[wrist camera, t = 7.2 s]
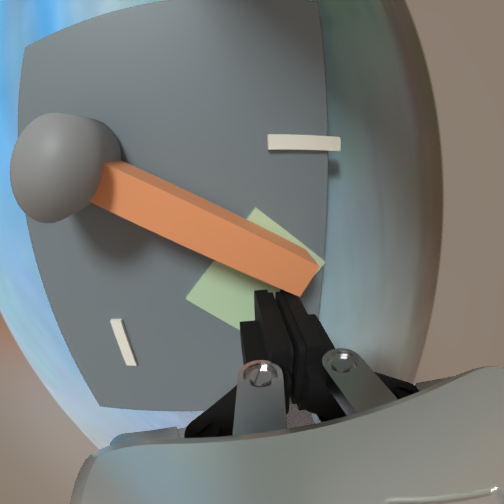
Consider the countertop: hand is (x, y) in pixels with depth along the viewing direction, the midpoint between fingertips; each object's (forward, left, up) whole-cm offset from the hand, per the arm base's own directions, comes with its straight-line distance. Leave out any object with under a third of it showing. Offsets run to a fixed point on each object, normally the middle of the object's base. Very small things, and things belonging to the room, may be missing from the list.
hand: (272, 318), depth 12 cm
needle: (-5, -4, -1) cm, 7 cm away
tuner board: (-3, -5, -2) cm, 6 cm away
